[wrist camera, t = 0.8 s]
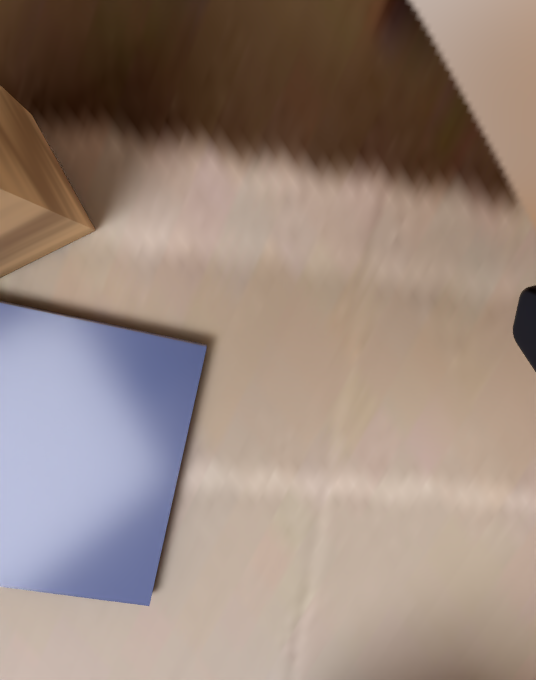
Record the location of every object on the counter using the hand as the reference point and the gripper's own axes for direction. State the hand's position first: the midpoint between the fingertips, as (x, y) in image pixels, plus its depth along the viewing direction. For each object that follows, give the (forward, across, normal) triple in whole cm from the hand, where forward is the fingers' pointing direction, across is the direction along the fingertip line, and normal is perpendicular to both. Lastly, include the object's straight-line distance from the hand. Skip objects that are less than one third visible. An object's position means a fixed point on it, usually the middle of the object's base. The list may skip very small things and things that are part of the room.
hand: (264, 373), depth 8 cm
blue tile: (+10, +9, +10) cm, 17 cm away
